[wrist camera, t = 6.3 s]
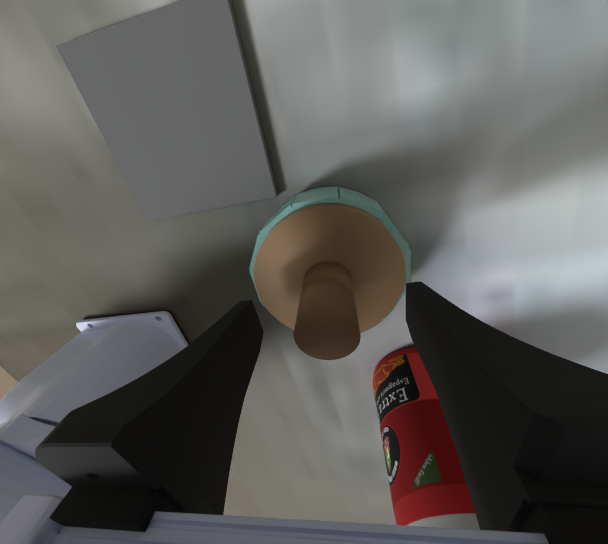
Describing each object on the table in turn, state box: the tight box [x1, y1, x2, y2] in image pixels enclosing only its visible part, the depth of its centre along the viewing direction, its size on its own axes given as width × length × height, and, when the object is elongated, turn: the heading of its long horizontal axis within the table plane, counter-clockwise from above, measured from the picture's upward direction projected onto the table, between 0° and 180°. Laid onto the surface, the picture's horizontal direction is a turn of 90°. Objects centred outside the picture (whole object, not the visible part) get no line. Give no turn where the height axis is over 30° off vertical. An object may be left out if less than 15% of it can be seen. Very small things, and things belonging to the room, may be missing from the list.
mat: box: [56, 0, 278, 221], centre depth 13 cm, size 9×9×1 cm
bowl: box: [249, 186, 411, 321], centre depth 15 cm, size 9×9×3 cm
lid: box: [254, 203, 406, 360], centre depth 12 cm, size 8×8×5 cm
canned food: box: [373, 347, 480, 530], centre depth 17 cm, size 8×8×11 cm
